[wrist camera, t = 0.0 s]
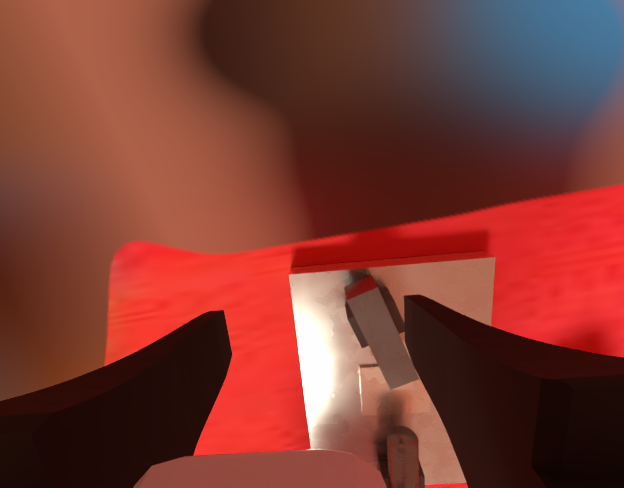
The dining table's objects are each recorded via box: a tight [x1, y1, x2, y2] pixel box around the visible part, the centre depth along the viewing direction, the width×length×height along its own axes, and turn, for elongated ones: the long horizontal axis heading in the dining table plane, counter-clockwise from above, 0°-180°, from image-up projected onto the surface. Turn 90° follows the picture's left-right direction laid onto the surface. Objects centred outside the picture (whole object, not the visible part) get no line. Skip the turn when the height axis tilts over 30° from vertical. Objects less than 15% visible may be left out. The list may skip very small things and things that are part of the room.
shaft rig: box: [289, 251, 496, 488], centre depth 22 cm, size 20×14×5 cm
